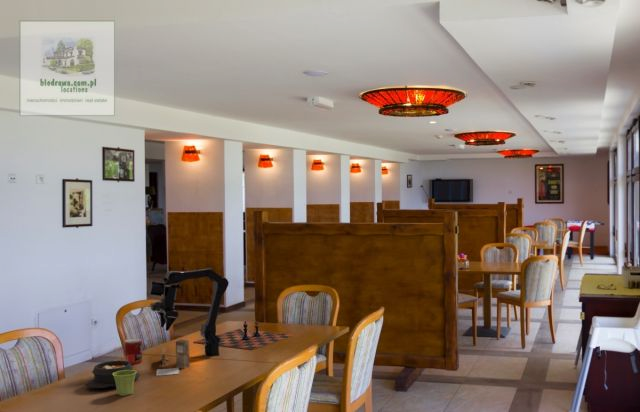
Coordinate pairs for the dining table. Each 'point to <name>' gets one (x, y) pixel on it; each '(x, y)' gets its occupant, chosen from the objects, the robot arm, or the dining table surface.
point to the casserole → (108, 373)
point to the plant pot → (124, 381)
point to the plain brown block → (182, 354)
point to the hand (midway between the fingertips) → (164, 328)
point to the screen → (164, 359)
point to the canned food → (133, 350)
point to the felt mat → (167, 371)
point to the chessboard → (247, 338)
